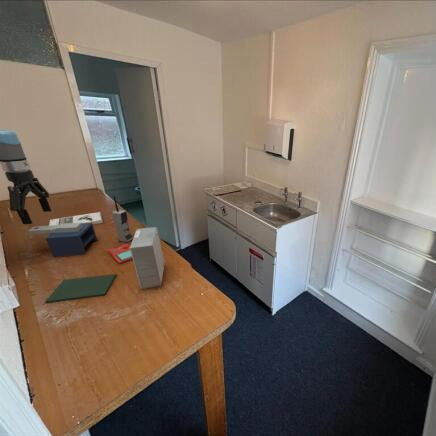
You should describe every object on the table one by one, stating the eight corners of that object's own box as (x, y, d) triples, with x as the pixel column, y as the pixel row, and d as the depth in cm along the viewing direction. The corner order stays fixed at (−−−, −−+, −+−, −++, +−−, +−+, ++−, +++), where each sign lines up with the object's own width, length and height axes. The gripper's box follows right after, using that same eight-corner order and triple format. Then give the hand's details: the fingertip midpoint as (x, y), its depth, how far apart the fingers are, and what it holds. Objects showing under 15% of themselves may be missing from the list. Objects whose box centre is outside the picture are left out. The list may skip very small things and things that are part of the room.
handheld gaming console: (128, 242, 120) (140, 254, 111) (128, 244, 120) (141, 256, 112) (107, 249, 113) (118, 262, 105) (107, 251, 113) (119, 264, 105)
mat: (45, 303, 83) (45, 301, 83) (64, 281, 93) (63, 279, 93) (105, 295, 88) (104, 293, 88) (116, 275, 99) (116, 273, 98)
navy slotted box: (53, 256, 107) (45, 238, 103) (69, 241, 119) (62, 224, 115) (84, 254, 110) (78, 235, 106) (97, 239, 122) (92, 222, 118)
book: (49, 232, 125) (48, 229, 124) (51, 222, 135) (50, 219, 134) (103, 222, 139) (102, 219, 138) (101, 214, 148) (100, 211, 148)
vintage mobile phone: (127, 242, 122) (116, 197, 111) (119, 241, 122) (107, 196, 112) (133, 239, 125) (122, 195, 115) (125, 237, 126) (113, 194, 115)
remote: (29, 234, 104) (26, 229, 103) (36, 229, 108) (34, 224, 107) (77, 231, 109) (76, 227, 108) (83, 226, 114) (81, 222, 113)
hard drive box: (145, 267, 105) (137, 228, 97) (164, 264, 108) (157, 226, 99) (140, 290, 92) (129, 247, 84) (161, 286, 95) (153, 244, 86)
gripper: (6, 178, 86) (30, 229, 95) (47, 164, 107) (63, 206, 116) (-21, 179, 84) (6, 230, 93) (27, 164, 105) (45, 207, 114)
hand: (38, 217), depth 104 cm, fingers open, 13 cm apart
